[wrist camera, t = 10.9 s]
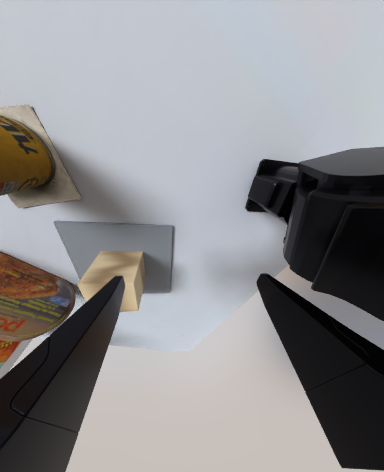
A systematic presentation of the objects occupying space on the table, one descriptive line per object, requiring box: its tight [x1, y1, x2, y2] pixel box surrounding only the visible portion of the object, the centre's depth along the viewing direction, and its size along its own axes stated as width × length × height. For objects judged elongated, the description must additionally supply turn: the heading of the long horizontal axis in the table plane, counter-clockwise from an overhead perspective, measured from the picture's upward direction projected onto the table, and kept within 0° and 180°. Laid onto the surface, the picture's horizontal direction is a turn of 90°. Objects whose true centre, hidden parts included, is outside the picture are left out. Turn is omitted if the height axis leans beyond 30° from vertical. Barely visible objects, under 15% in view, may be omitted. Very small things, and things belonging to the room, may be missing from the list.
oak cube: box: [77, 251, 145, 312], centre depth 20 cm, size 6×6×6 cm
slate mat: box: [54, 221, 173, 294], centre depth 22 cm, size 15×15×1 cm
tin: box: [0, 253, 76, 342], centre depth 18 cm, size 15×3×8 cm, turn 38°
